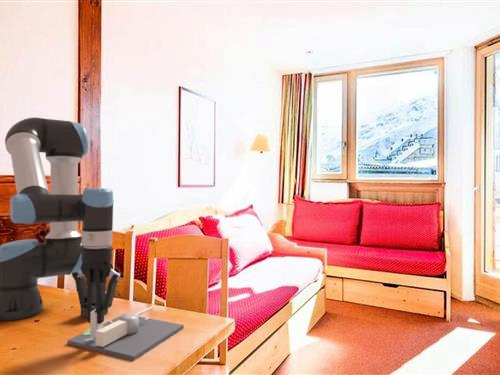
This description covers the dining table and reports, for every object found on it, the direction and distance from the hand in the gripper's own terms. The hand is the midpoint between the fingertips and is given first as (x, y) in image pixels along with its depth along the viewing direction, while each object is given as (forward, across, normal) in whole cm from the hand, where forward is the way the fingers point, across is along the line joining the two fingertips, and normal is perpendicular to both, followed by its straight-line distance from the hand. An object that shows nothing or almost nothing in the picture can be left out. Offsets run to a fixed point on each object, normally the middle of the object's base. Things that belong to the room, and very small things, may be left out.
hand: (95, 334), depth 96 cm
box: (+3, -12, +20) cm, 24 cm away
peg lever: (+2, +6, +7) cm, 9 cm away
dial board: (+3, +6, +7) cm, 10 cm away
